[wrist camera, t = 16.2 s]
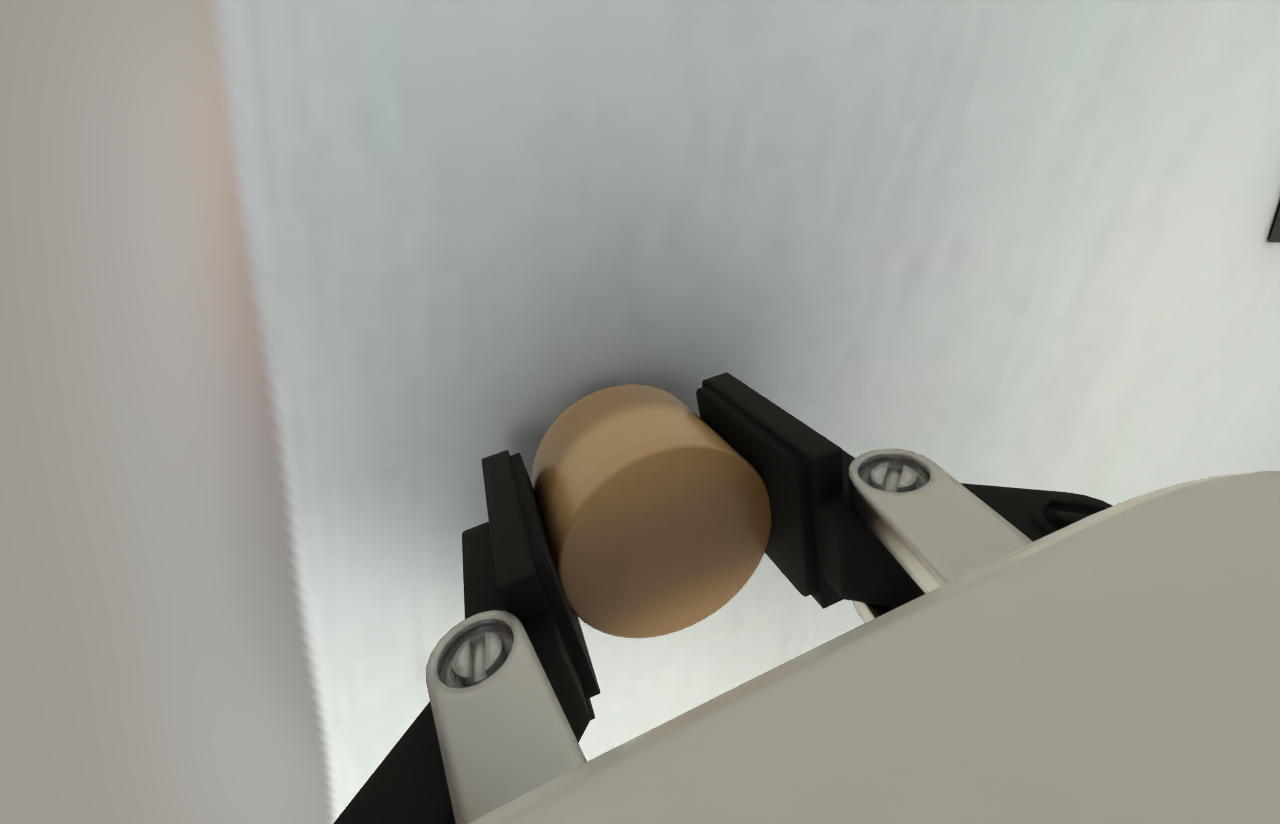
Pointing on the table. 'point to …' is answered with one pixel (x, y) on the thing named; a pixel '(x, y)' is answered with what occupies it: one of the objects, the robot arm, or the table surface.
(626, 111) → the table surface
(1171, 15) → the table surface
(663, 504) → the tan cork stopper
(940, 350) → the table surface
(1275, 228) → the slate board
